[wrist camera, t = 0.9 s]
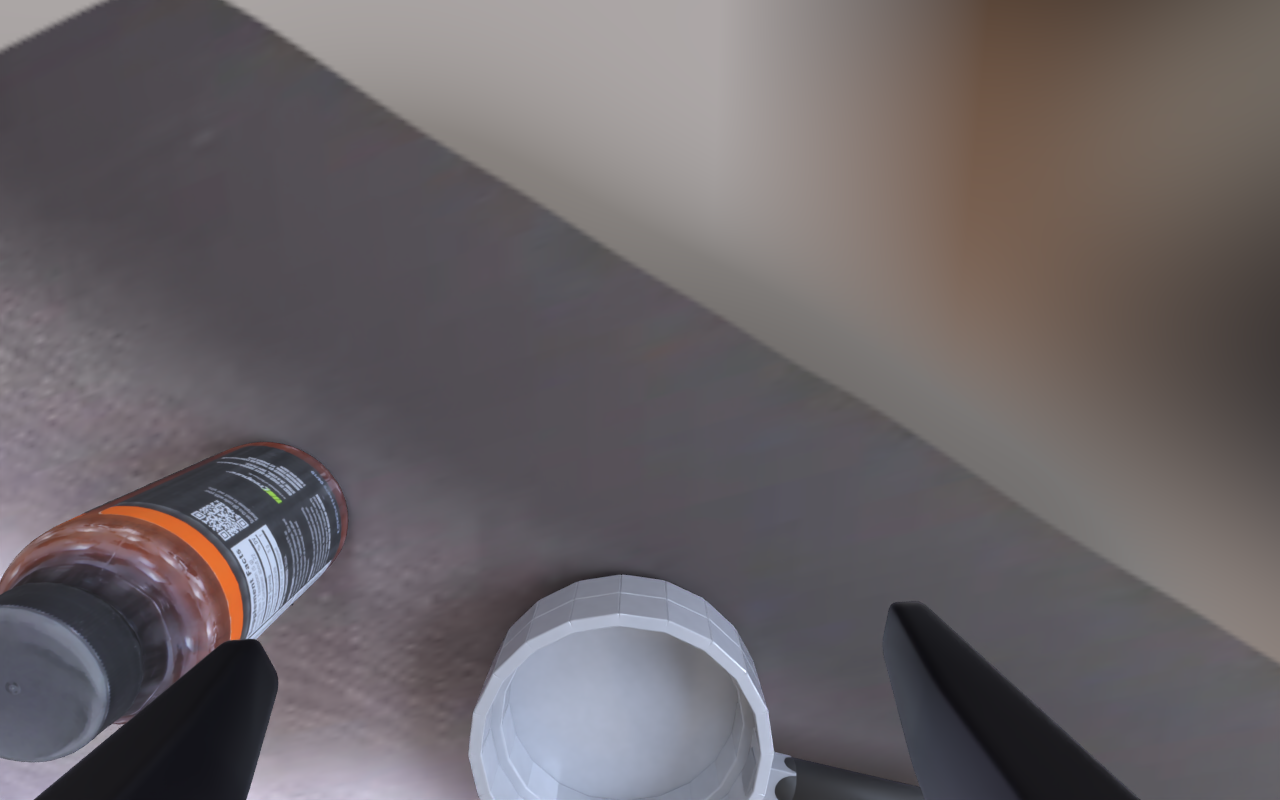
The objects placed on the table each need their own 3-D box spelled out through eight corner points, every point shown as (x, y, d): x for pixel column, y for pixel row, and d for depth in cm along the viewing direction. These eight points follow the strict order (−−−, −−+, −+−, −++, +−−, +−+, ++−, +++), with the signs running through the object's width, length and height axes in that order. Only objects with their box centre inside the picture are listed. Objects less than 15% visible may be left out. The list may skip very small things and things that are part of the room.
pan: (625, 855, 29) (623, 933, 26) (435, 695, 28) (406, 755, 24) (811, 693, 27) (835, 753, 24) (621, 516, 26) (617, 553, 23)
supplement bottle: (196, 565, 27) (-126, 776, 15) (209, 423, 25) (-127, 540, 14) (345, 594, 27) (134, 824, 16) (364, 454, 26) (152, 594, 15)
